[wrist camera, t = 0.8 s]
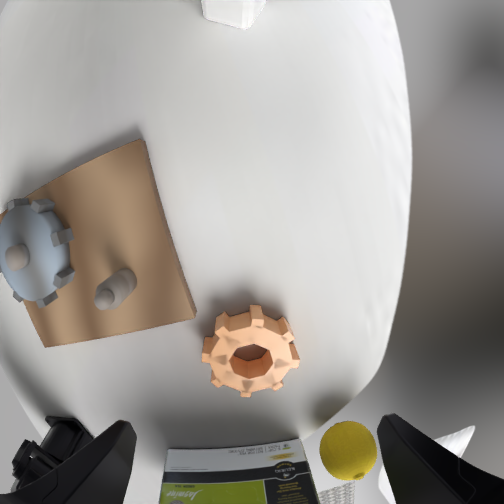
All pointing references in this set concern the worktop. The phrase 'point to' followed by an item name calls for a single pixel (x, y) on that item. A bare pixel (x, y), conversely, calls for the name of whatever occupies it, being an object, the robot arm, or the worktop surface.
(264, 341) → the gear
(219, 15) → the pepper shaker
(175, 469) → the tea box
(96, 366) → the worktop surface
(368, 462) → the lemon
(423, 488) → the robot arm
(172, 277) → the gear board
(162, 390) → the worktop surface
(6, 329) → the worktop surface
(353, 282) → the worktop surface
